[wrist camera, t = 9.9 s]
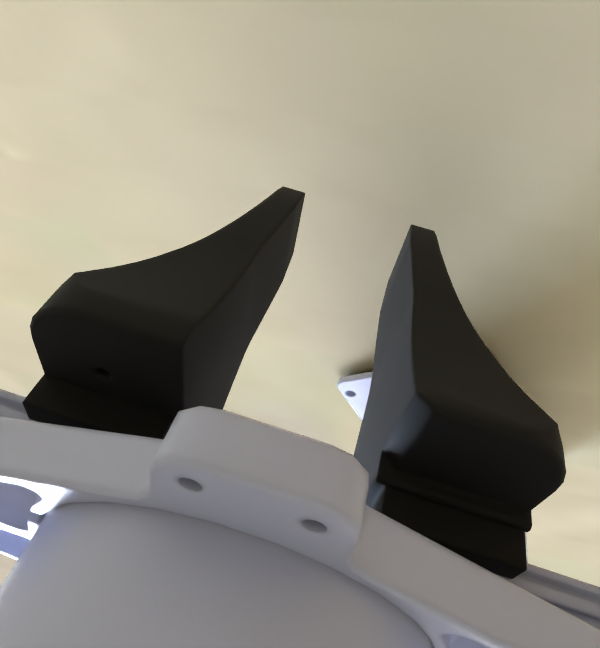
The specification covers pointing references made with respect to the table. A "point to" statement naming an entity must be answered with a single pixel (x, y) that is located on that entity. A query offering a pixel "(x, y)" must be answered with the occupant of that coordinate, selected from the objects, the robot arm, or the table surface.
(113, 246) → the table surface
